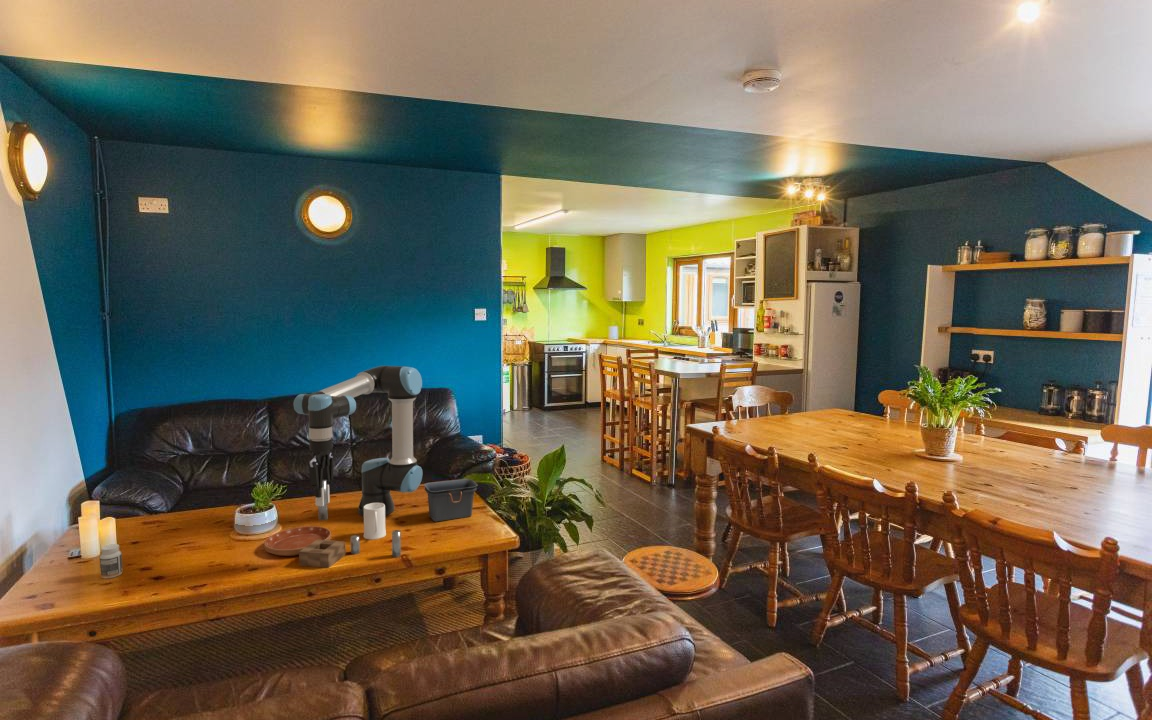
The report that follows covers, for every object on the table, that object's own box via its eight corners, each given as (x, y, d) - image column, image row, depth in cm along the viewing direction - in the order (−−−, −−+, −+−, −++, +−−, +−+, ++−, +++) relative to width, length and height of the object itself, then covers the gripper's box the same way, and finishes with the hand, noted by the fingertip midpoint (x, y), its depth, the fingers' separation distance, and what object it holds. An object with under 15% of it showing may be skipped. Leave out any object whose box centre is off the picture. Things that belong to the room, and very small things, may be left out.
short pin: (353, 550, 221) (353, 534, 220) (361, 551, 221) (360, 535, 220) (349, 553, 218) (349, 538, 218) (357, 554, 218) (356, 538, 217)
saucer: (254, 561, 212) (254, 551, 211) (276, 536, 234) (276, 527, 234) (322, 557, 215) (322, 547, 215) (337, 533, 238) (337, 524, 237)
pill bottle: (108, 571, 201) (107, 543, 201) (126, 571, 202) (125, 543, 201) (96, 579, 196) (94, 550, 195) (115, 579, 196) (113, 550, 195)
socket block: (317, 552, 219) (317, 539, 218) (345, 554, 217) (345, 541, 217) (299, 565, 208) (299, 551, 208) (328, 567, 206) (328, 554, 206)
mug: (386, 541, 230) (385, 511, 229) (362, 543, 227) (362, 513, 226) (386, 530, 241) (385, 501, 240) (363, 532, 238) (363, 503, 237)
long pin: (321, 517, 213) (320, 478, 212) (329, 517, 212) (328, 479, 211) (316, 520, 210) (315, 481, 209) (324, 520, 210) (323, 481, 208)
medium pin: (394, 553, 219) (394, 529, 218) (402, 554, 218) (402, 530, 217) (390, 556, 216) (390, 532, 215) (398, 557, 215) (398, 533, 214)
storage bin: (470, 508, 268) (469, 477, 267) (481, 519, 255) (481, 486, 253) (422, 515, 258) (422, 483, 257) (431, 527, 245) (431, 493, 243)
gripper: (323, 433, 217) (325, 496, 219) (297, 443, 201) (299, 511, 203) (342, 434, 216) (344, 497, 218) (318, 444, 200) (319, 512, 202)
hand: (322, 503), depth 211 cm, fingers closed on long pin, 3 cm apart
